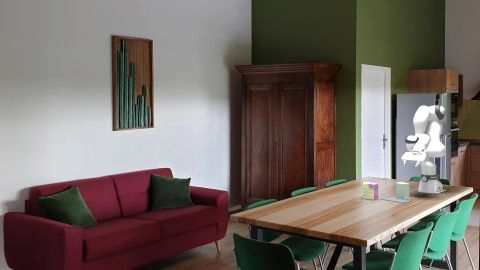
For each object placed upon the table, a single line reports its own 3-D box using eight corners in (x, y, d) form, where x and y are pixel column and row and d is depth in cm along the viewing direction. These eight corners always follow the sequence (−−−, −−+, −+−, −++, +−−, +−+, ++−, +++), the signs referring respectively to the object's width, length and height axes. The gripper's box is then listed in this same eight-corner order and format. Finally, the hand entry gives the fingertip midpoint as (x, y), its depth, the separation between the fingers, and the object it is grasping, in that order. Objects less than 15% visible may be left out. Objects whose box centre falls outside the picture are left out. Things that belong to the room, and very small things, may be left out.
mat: (388, 197, 390) (388, 197, 390) (411, 201, 374) (411, 201, 374) (380, 199, 385) (380, 198, 385) (403, 203, 369) (403, 202, 369)
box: (378, 199, 385) (378, 183, 385) (373, 200, 381) (373, 184, 381) (366, 197, 393) (366, 182, 392) (362, 198, 389) (362, 182, 389)
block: (400, 198, 389) (400, 182, 389) (409, 199, 383) (409, 183, 382) (395, 198, 386) (395, 182, 386) (405, 200, 380) (405, 184, 379)
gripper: (404, 148, 401) (396, 162, 395) (428, 150, 384) (420, 164, 379) (408, 154, 404) (400, 167, 398) (431, 156, 387) (423, 170, 382)
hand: (410, 166), depth 389 cm, fingers open, 8 cm apart
